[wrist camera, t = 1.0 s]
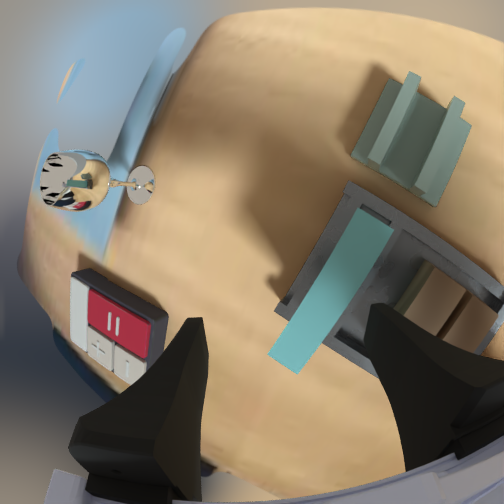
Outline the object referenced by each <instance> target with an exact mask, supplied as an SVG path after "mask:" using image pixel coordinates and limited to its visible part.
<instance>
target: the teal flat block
mask: <svg viewBox="0 0 504 504" xmlns="http://www.w3.org/2000/svg"><path fill="white" fill-rule="evenodd" d="M393 231H394V229H392V228H390V227H389V226H387V225H386V224H384V223H383V222H381V221H379V220H378V219H376V218H375V217H373V216H371V215H370V214H368V213H366V212H365V211H363V210H361V209H360V208H357V210H356V212H355V213H354V215H353V217H352V219H351V221H350V222H349V224H348V226H347V228H346V229H345V231H344V233H343V235H342V236H341V238H340V240H339V242H338V243H337V245H336V247H335V248H334V250H333V252H332V254H331V255H330V257H329V259H328V260H327V262H326V264H325V265H324V267H323V269H322V270H321V272H320V274H319V275H318V277H317V278H316V280H315V282H314V283H313V285H312V287H311V288H310V290H309V291H308V293H307V295H306V296H305V298H304V299H303V301H302V303H301V304H300V306H299V307H298V309H297V310H296V312H295V314H294V315H293V317H292V318H291V320H290V321H289V323H288V324H287V326H286V327H285V329H284V330H283V332H282V333H281V335H280V336H279V338H278V339H277V341H276V342H275V344H274V345H273V347H272V348H271V350H270V351H269V353H268V354H267V355H269V356H270V357H272V358H273V359H275V360H276V361H278V362H279V363H281V364H282V365H284V366H285V367H287V368H288V369H290V370H291V371H293V372H294V373H296V374H298V373H299V372H300V370H301V369H302V368H303V367H304V365H305V364H306V363H307V361H308V360H309V359H310V357H311V356H312V355H313V353H314V352H315V351H316V349H317V348H318V347H319V345H320V344H321V343H322V341H323V340H324V339H325V337H326V336H327V334H328V333H329V332H330V330H331V329H332V327H333V326H334V325H335V323H336V322H337V320H338V319H339V317H340V316H341V314H342V313H343V311H344V310H345V309H346V307H347V306H348V304H349V303H350V301H351V300H352V298H353V297H354V295H355V294H356V292H357V290H358V289H359V287H360V286H361V284H362V283H363V281H364V280H365V278H366V276H367V275H368V273H369V272H370V270H371V268H372V267H373V265H374V263H375V262H376V260H377V258H378V257H379V255H380V253H381V252H382V250H383V248H384V247H385V245H386V243H387V242H388V240H389V238H390V236H391V235H392V233H393Z"/></svg>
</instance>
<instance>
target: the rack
mask: <svg viewBox="0 0 504 504" xmlns="http://www.w3.org/2000/svg"><path fill="white" fill-rule="evenodd" d="M343 193H344V195H343V197H342V199H341V201H340V202H339V204H338V206H337V208H336V210H335V211H334V213H333V215H332V217H331V219H330V220H329V222H328V224H327V226H326V228H325V229H324V231H323V233H322V235H321V236H320V238H319V240H318V242H317V243H316V245H315V247H314V249H313V250H312V252H311V254H310V256H309V257H308V259H307V261H306V262H305V264H304V266H303V268H302V269H301V271H300V273H299V274H298V276H297V278H296V279H295V281H294V283H293V284H292V286H291V288H290V289H289V291H288V293H287V294H286V296H285V297H284V298H283V299H282V300H281V301H280V302H279V303H278V305H277V307H276V308H275V310H274V312H276V313H277V314H279V315H280V316H282V317H283V318H285V319H286V320H288V321H290V320H291V318H292V317H293V315H294V314H295V312H296V310H297V309H298V307H299V306H300V304H301V303H302V301H303V299H304V298H305V296H306V295H307V293H308V291H309V290H310V288H311V287H312V285H313V283H314V282H315V280H316V278H317V277H318V275H319V274H320V272H321V270H322V269H323V267H324V265H325V264H326V262H327V260H328V259H329V257H330V255H331V254H332V252H333V250H334V248H335V247H336V245H337V243H338V242H339V240H340V238H341V236H342V235H343V233H344V231H345V229H346V228H347V226H348V224H349V222H350V221H351V219H352V217H353V215H354V213H355V212H356V210H357V208H360V209H361V210H363V211H365V212H366V213H368V214H370V215H371V216H373V217H375V218H376V219H378V220H379V221H381V222H383V223H384V224H386V225H387V226H389V227H390V228H392V229H394V231H393V233H392V235H391V236H390V238H389V240H388V242H387V243H386V245H385V247H384V248H383V250H382V252H381V253H380V255H379V257H378V258H377V260H376V262H375V263H374V265H373V267H372V268H371V270H370V272H369V273H368V275H367V276H366V278H365V280H364V281H363V283H362V284H361V286H360V287H359V289H358V290H357V292H356V294H355V295H354V297H353V298H352V300H351V301H350V303H349V304H348V306H347V307H346V309H345V310H344V311H343V313H342V314H341V316H340V317H339V319H338V320H337V322H336V323H335V325H334V326H333V327H332V329H331V330H330V332H329V333H328V334H327V336H326V337H325V339H324V340H323V341H322V343H323V344H325V345H326V346H328V347H329V348H331V349H332V350H334V351H335V352H337V353H339V354H340V355H342V356H343V357H345V358H346V359H348V360H350V361H351V362H353V363H354V364H356V365H358V366H359V367H361V368H362V369H364V370H366V371H367V372H369V373H370V374H372V375H374V376H375V377H377V378H379V377H378V375H377V373H376V371H375V369H374V367H373V365H372V363H371V361H370V359H369V356H368V353H367V350H366V347H365V343H364V340H363V339H364V334H365V330H366V325H367V321H368V316H369V311H370V306H371V304H375V303H385V304H387V305H388V306H390V307H391V308H394V307H395V305H396V304H397V303H398V301H399V300H400V298H401V297H402V295H403V294H404V292H405V290H406V289H407V287H408V286H409V284H410V283H411V281H412V279H413V278H414V276H415V275H416V273H417V271H418V270H419V268H420V266H421V265H422V263H423V261H424V260H425V259H426V260H427V261H429V262H430V263H431V264H433V265H434V266H436V267H437V268H439V269H440V270H441V271H443V272H444V273H446V274H447V275H448V276H450V277H451V278H452V279H454V280H455V281H456V282H457V283H459V284H461V285H462V286H463V287H465V288H466V289H467V290H469V291H470V292H471V293H473V294H474V295H475V296H477V297H478V298H479V299H480V300H482V301H483V302H484V303H485V304H486V305H488V306H489V307H490V308H491V309H492V310H493V311H495V312H496V313H497V314H498V315H499V316H498V318H497V319H496V321H495V323H494V324H493V326H492V327H491V329H490V330H489V332H488V333H487V335H486V336H485V337H484V339H483V340H482V342H481V343H480V344H479V346H478V347H477V349H476V350H475V351H474V354H477V355H481V354H482V352H483V351H484V350H485V348H486V347H487V345H488V344H489V343H490V341H491V340H492V338H493V337H494V335H495V334H496V332H497V331H498V329H499V328H500V326H501V325H502V323H503V322H504V287H503V286H502V285H501V284H500V283H499V282H497V281H496V280H495V279H494V278H493V277H491V276H490V275H489V274H488V273H486V272H485V271H484V270H483V269H481V268H480V267H479V266H478V265H476V264H475V263H474V262H472V261H471V260H470V259H469V258H467V257H466V256H465V255H463V254H462V253H461V252H459V251H458V250H456V249H455V248H454V247H452V246H451V245H450V244H448V243H447V242H445V241H444V240H443V239H441V238H440V237H438V236H437V235H435V234H434V233H433V232H431V231H430V230H428V229H427V228H425V227H424V226H422V225H421V224H419V223H418V222H416V221H415V220H413V219H412V218H410V217H409V216H407V215H406V214H404V213H402V212H401V211H399V210H398V209H396V208H395V207H393V206H391V205H390V204H388V203H386V202H385V201H383V200H382V199H380V198H378V197H377V196H375V195H373V194H372V193H370V192H368V191H366V190H365V189H363V188H361V187H360V186H358V185H356V184H354V183H353V182H351V181H348V183H347V185H346V187H345V188H344V190H343Z"/></svg>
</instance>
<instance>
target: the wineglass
mask: <svg viewBox="0 0 504 504" xmlns="http://www.w3.org/2000/svg"><path fill="white" fill-rule="evenodd" d="M116 186H127V193H128V196H129V198H130V200H131V201H132V202H133V203H135V204H137V205H142V204H145V203H146V202H148V201H149V199H150V198H151V197H152V195H153V192H154V189H155V178H154V174H153V172H152V171H151V169H150V168H148V167H146V166H139V167H137V168H135V169H134V170H133V171H132V172H131V174H130V176H129V178H128V182H122V181H119V180H116V179H114V178H111V175H110V169H109V166H108V164H107V162H106V161H105V160H104V159H103V157H102V156H100V155H99V154H97V153H94V152H91V151H88V150H67V151H61V152H55V153H52V154H51V155H49V157H48V158H47V159H46V161H45V163H44V165H43V168H42V172H41V178H40V192H41V197H42V199H43V202H44V203H45V204H46V205H47V206H50V207H54V208H57V209H61V210H66V211H73V212H82V211H87V210H91V209H93V208H95V207H97V206H98V205H99V204H100V203H101V202H102V201H103V200H104V199H105V197H106V195H107V193H108V191H109V187H110V188H112V187H116Z"/></svg>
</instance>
